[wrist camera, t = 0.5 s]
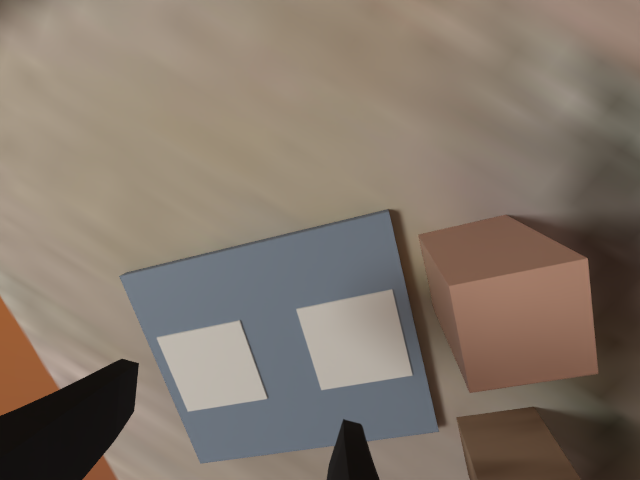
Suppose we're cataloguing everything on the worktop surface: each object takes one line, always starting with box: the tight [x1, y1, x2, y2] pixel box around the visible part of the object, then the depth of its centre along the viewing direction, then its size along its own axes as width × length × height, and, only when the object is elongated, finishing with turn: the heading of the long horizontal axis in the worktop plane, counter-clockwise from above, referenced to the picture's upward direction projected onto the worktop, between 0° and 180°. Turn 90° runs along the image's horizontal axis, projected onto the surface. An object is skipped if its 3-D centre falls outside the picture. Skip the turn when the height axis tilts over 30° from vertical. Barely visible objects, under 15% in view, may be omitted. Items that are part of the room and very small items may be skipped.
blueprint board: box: [119, 209, 439, 463], centre depth 22 cm, size 14×16×1 cm
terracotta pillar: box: [418, 215, 598, 393], centre depth 16 cm, size 4×4×7 cm
